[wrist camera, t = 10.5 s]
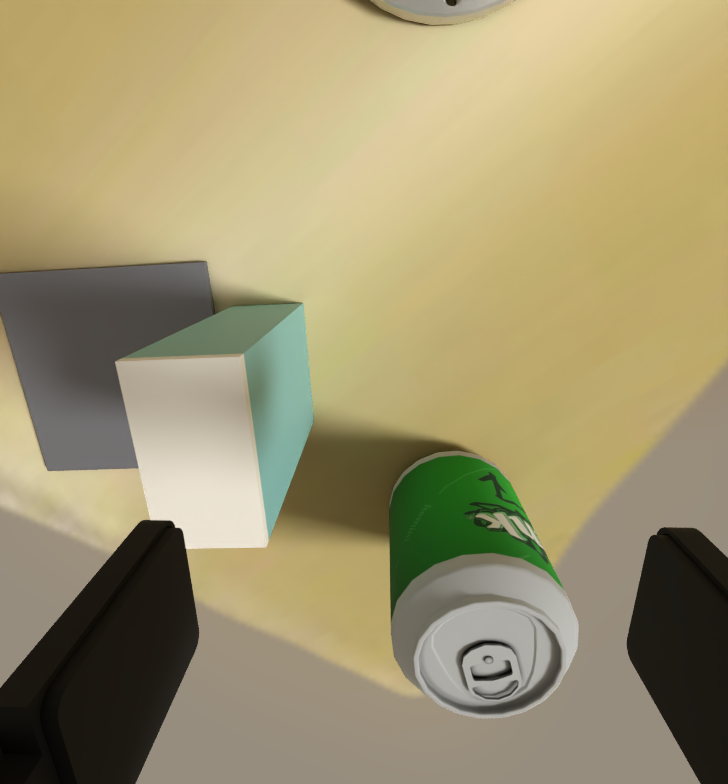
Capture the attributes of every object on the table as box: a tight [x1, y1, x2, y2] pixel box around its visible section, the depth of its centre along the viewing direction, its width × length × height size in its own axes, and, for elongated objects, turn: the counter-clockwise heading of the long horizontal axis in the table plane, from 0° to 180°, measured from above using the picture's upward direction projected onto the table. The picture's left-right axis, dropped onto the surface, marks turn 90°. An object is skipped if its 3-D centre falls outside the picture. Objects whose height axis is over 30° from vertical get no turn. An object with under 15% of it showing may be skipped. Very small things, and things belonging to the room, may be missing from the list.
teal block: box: [115, 303, 314, 549], centre depth 22 cm, size 7×4×12 cm, turn 3°
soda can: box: [389, 451, 578, 719], centre depth 24 cm, size 8×8×12 cm
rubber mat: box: [0, 262, 215, 471], centre depth 28 cm, size 12×12×1 cm
